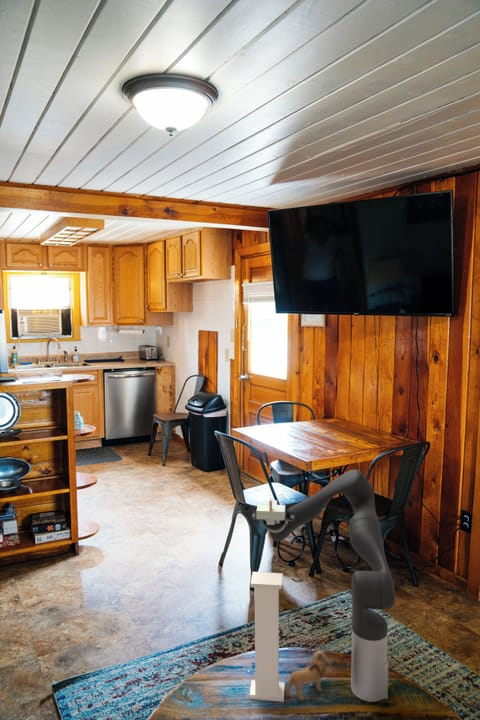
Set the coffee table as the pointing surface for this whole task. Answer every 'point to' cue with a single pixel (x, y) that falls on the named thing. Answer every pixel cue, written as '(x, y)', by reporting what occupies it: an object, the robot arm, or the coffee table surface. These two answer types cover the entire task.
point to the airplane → (271, 512)
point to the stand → (267, 637)
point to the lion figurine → (308, 674)
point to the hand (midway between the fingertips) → (271, 512)
